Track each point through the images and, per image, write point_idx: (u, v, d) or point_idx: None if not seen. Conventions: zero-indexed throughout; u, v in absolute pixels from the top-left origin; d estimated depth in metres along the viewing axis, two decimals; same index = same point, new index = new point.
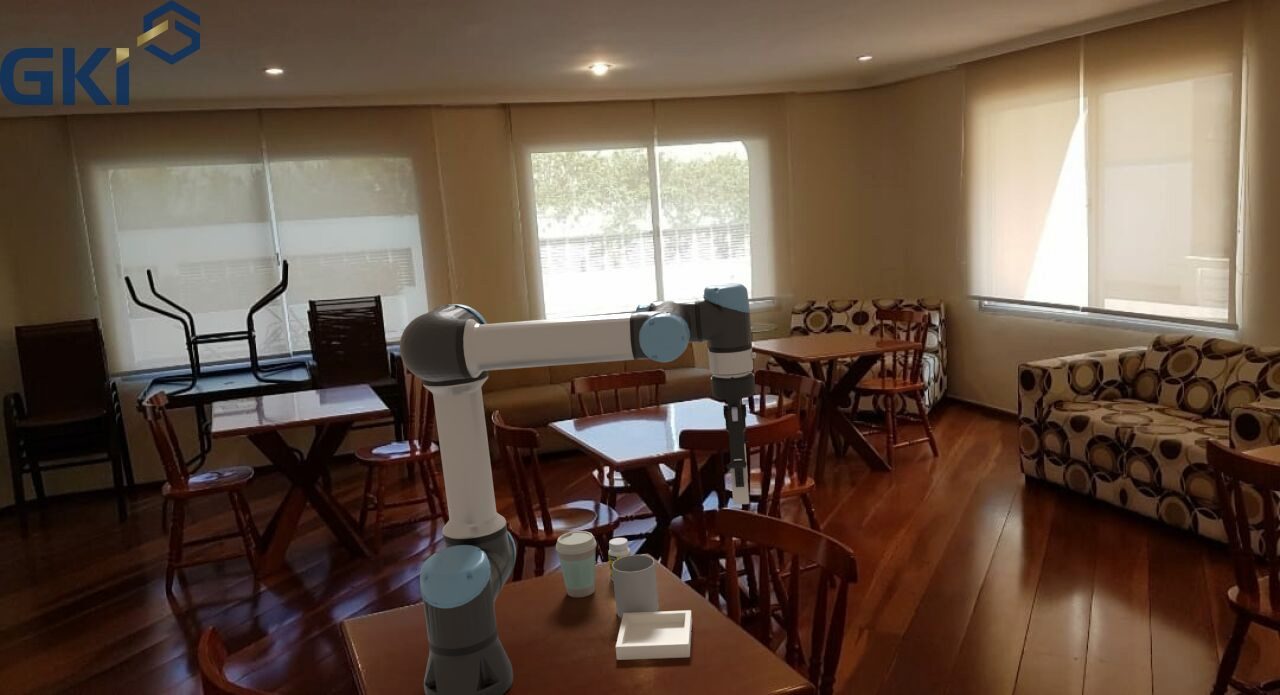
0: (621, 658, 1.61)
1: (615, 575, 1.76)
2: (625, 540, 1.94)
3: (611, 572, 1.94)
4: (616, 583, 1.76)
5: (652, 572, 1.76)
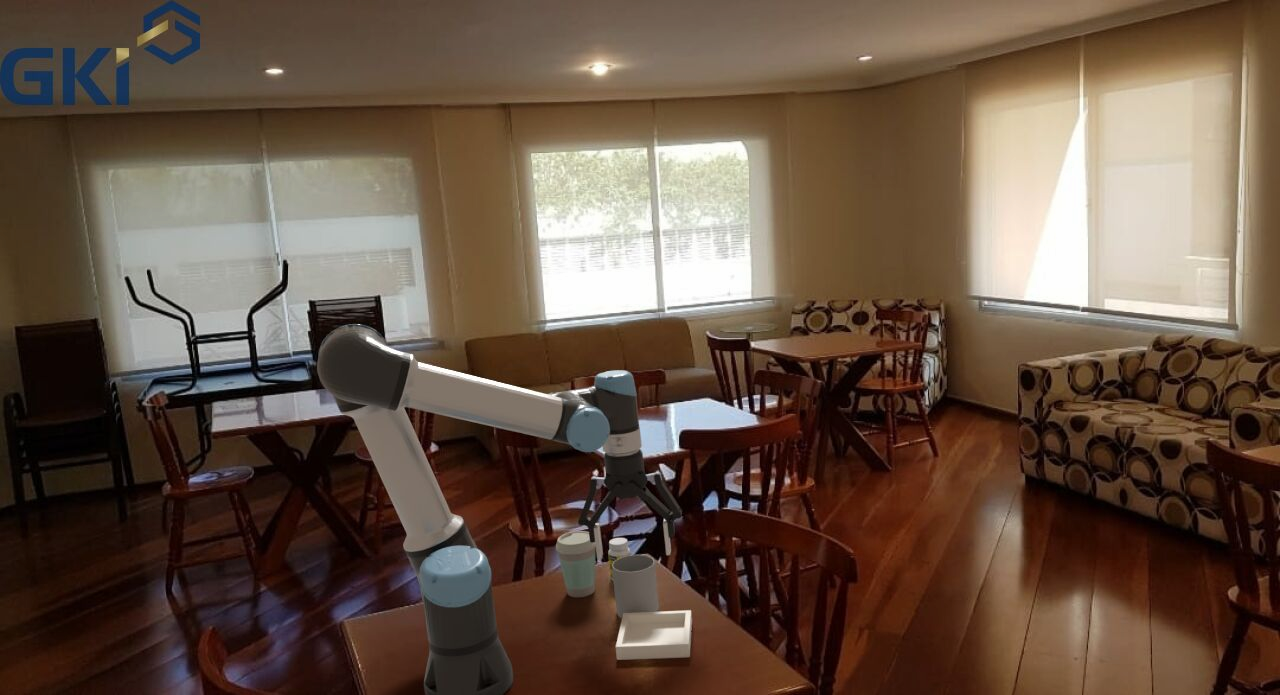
0: (621, 658, 1.61)
1: (615, 575, 1.76)
2: (625, 540, 1.94)
3: (611, 572, 1.94)
4: (616, 583, 1.76)
5: (652, 572, 1.76)
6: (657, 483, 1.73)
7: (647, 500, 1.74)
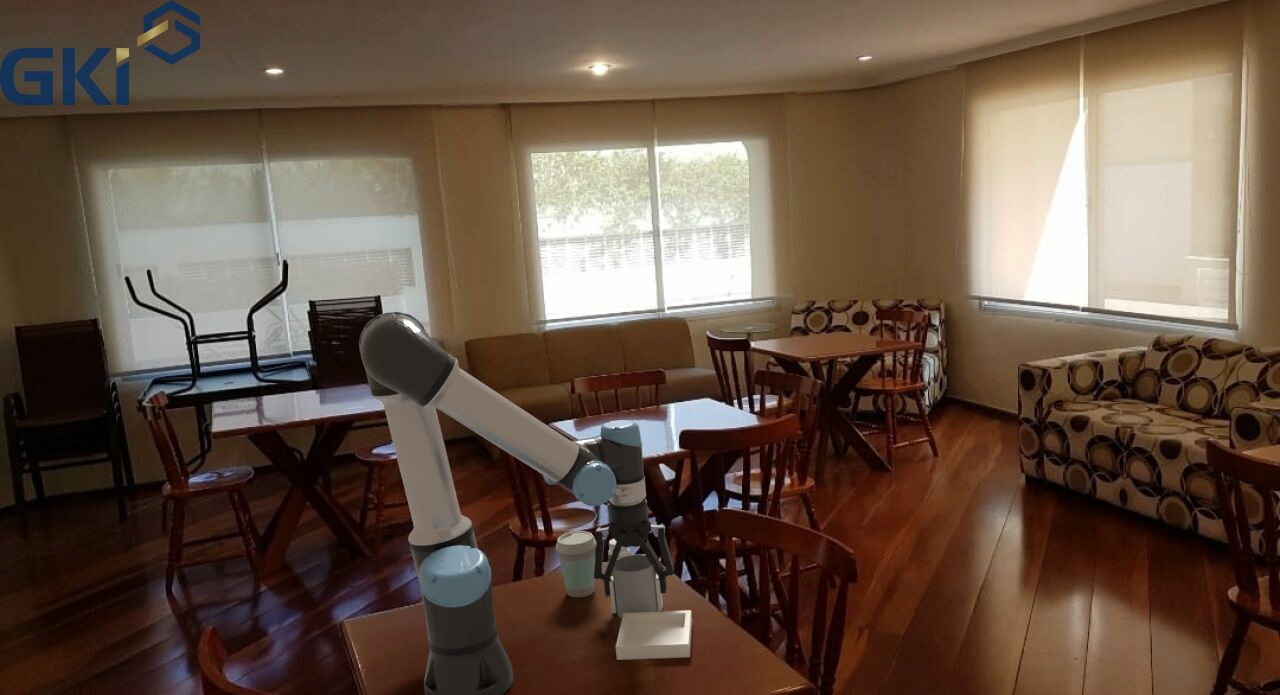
0: (621, 658, 1.61)
1: (615, 575, 1.76)
2: None
3: None
4: (616, 583, 1.76)
5: (652, 572, 1.76)
6: (659, 536, 1.75)
7: (646, 552, 1.76)
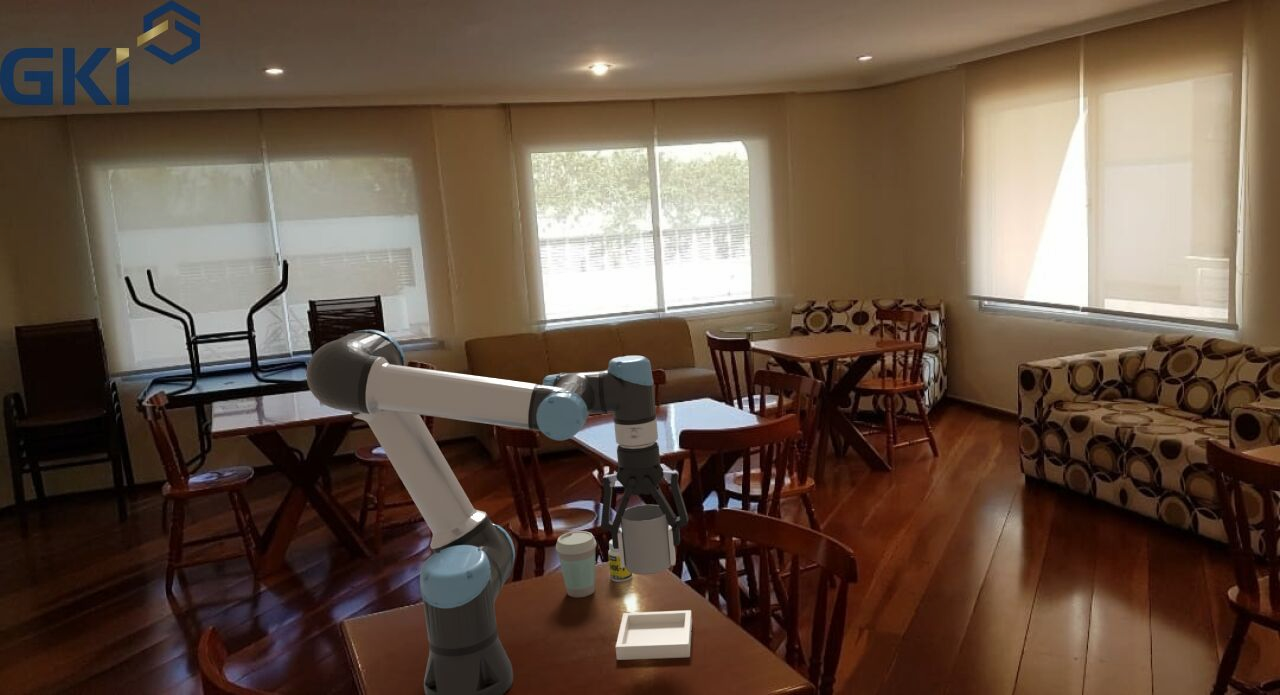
0: (621, 658, 1.61)
1: (624, 525, 1.61)
2: None
3: (611, 572, 1.94)
4: (625, 534, 1.61)
5: (664, 522, 1.61)
6: (673, 483, 1.60)
7: (657, 500, 1.61)
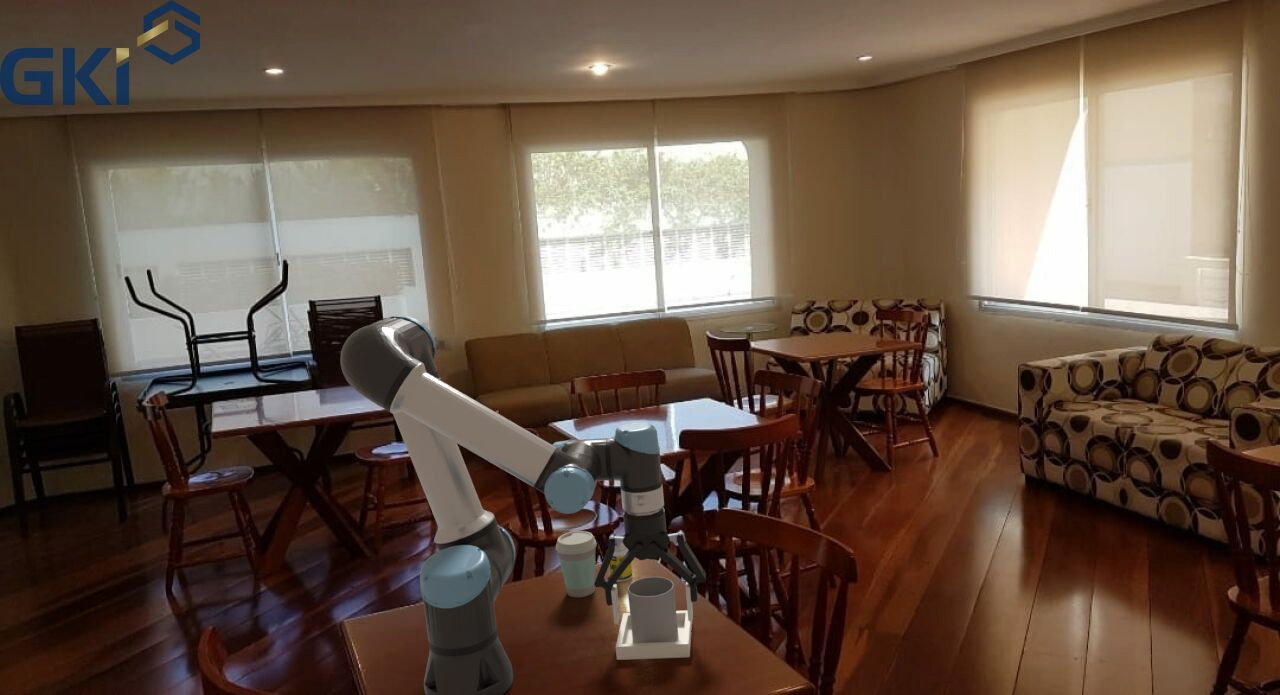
0: (621, 658, 1.61)
1: (631, 600, 1.63)
2: None
3: (611, 572, 1.94)
4: (632, 608, 1.63)
5: (671, 596, 1.63)
6: (680, 544, 1.62)
7: (669, 562, 1.63)
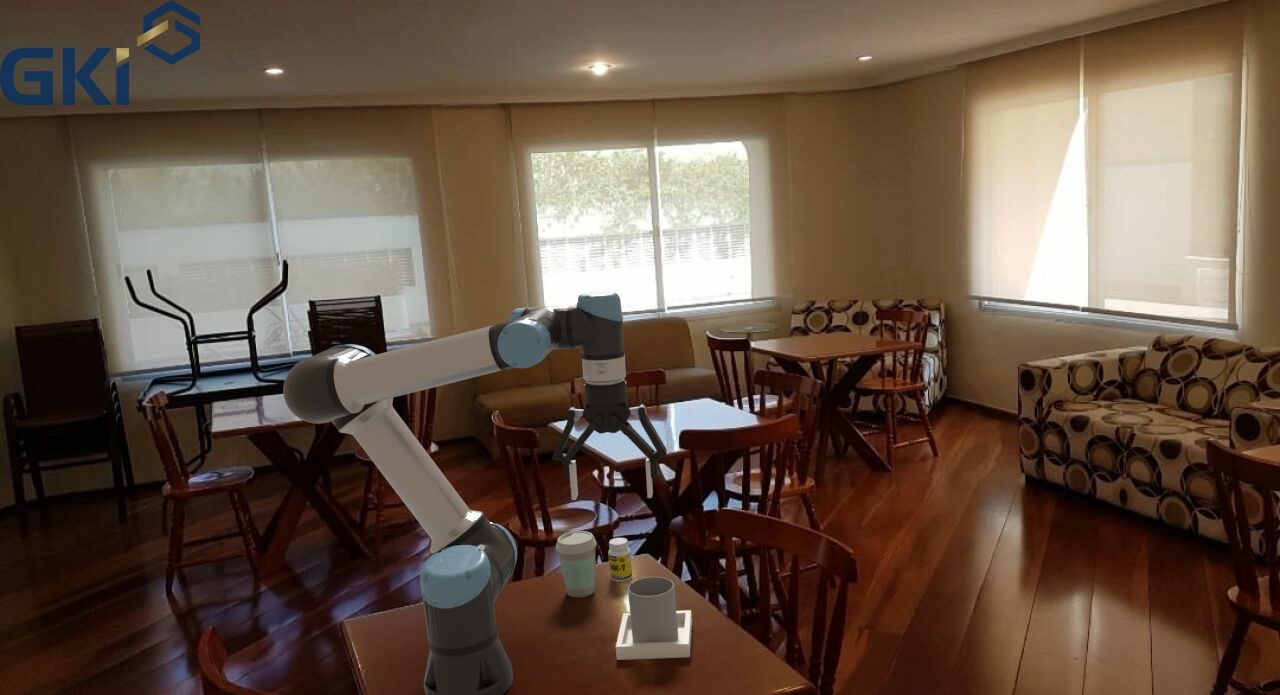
0: (621, 658, 1.61)
1: (632, 599, 1.63)
2: (625, 540, 1.94)
3: (611, 572, 1.94)
4: (633, 608, 1.63)
5: (671, 596, 1.63)
6: (641, 417, 1.58)
7: (629, 436, 1.59)
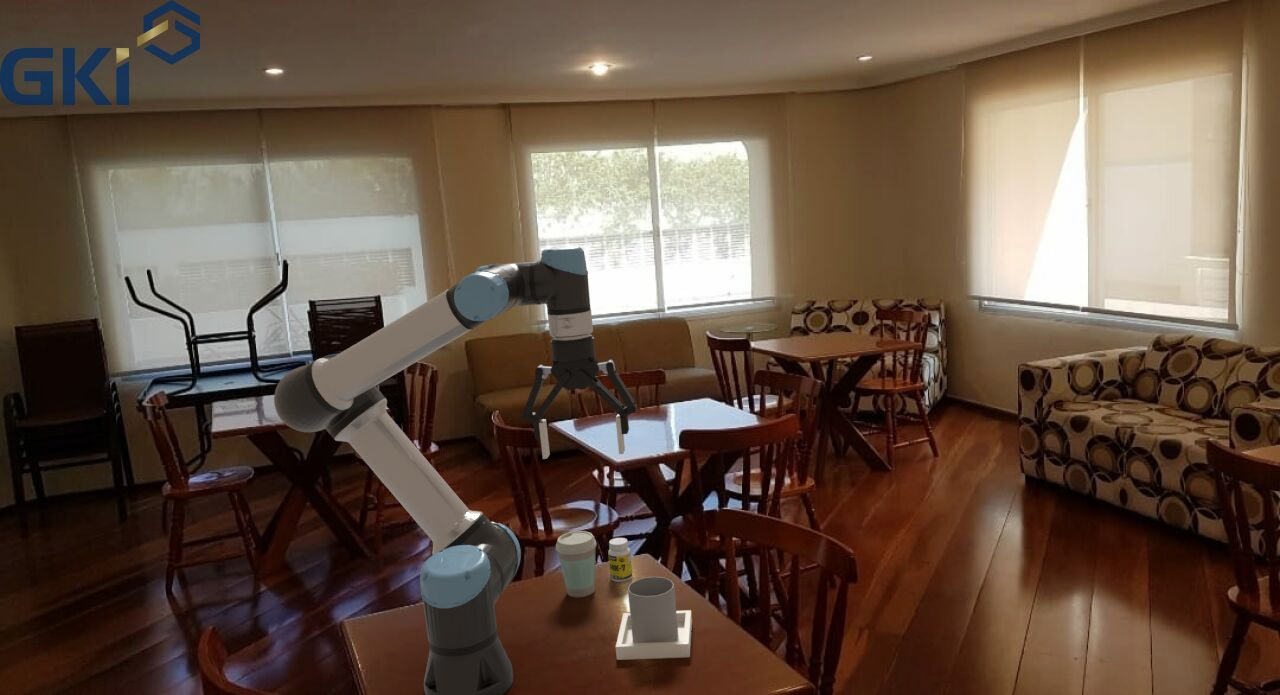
0: (621, 658, 1.61)
1: (631, 599, 1.63)
2: (625, 540, 1.94)
3: (611, 572, 1.94)
4: (632, 608, 1.63)
5: (671, 596, 1.63)
6: (609, 372, 1.56)
7: (598, 391, 1.57)
